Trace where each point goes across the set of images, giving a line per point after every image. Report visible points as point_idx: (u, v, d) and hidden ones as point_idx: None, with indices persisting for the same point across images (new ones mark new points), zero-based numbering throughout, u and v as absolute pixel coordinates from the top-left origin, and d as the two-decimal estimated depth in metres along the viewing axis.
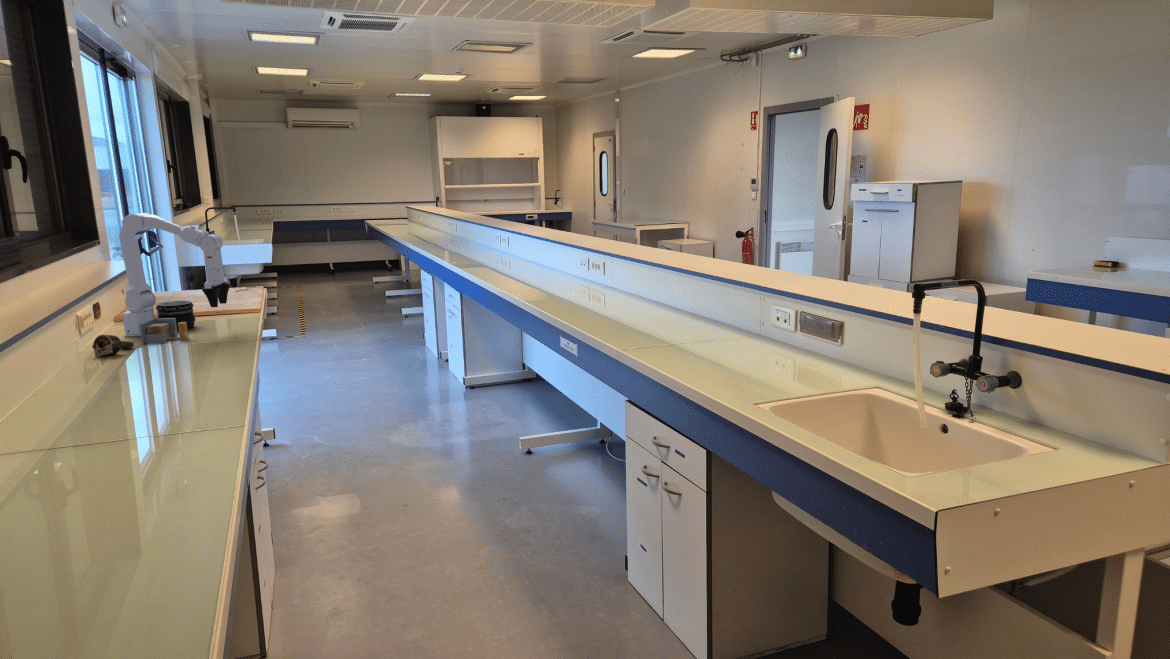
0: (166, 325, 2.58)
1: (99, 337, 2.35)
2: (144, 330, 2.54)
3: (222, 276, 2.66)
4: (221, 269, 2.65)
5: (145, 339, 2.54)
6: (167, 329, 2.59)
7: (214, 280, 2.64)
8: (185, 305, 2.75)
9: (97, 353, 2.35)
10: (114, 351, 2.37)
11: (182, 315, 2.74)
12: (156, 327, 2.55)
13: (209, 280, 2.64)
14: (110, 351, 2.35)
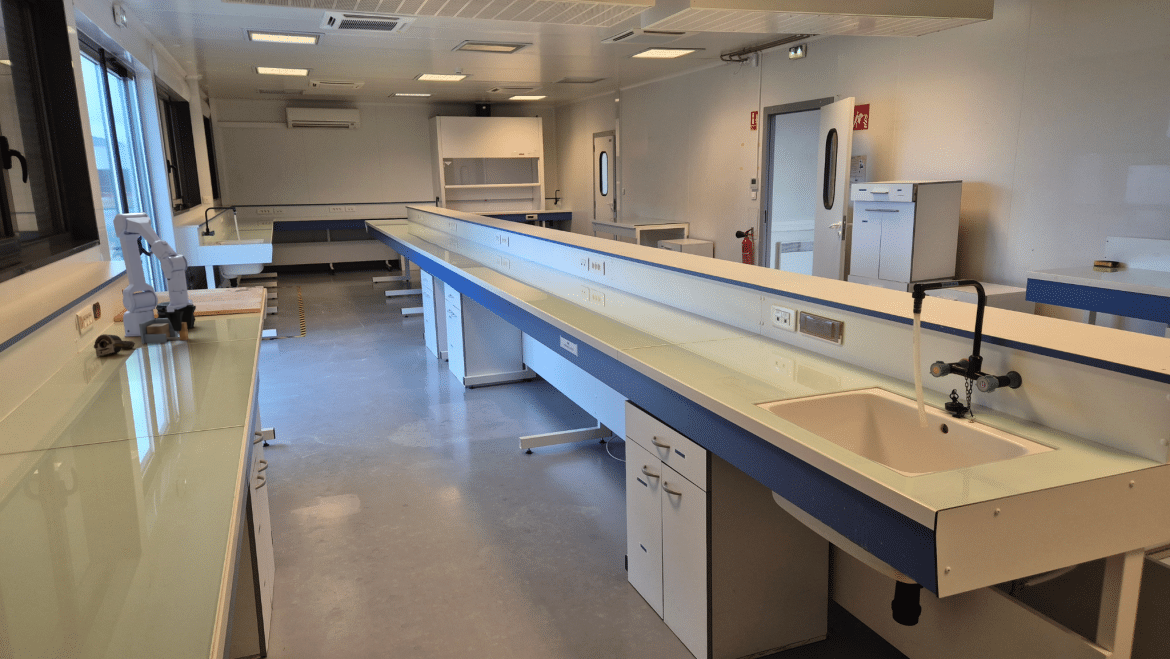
0: (166, 325, 2.58)
1: (100, 337, 2.35)
2: (144, 330, 2.54)
3: (186, 298, 2.55)
4: (185, 291, 2.55)
5: (145, 339, 2.54)
6: (167, 329, 2.59)
7: (177, 303, 2.53)
8: None
9: (98, 353, 2.35)
10: (115, 351, 2.37)
11: None
12: (156, 327, 2.55)
13: (172, 303, 2.53)
14: (112, 351, 2.35)
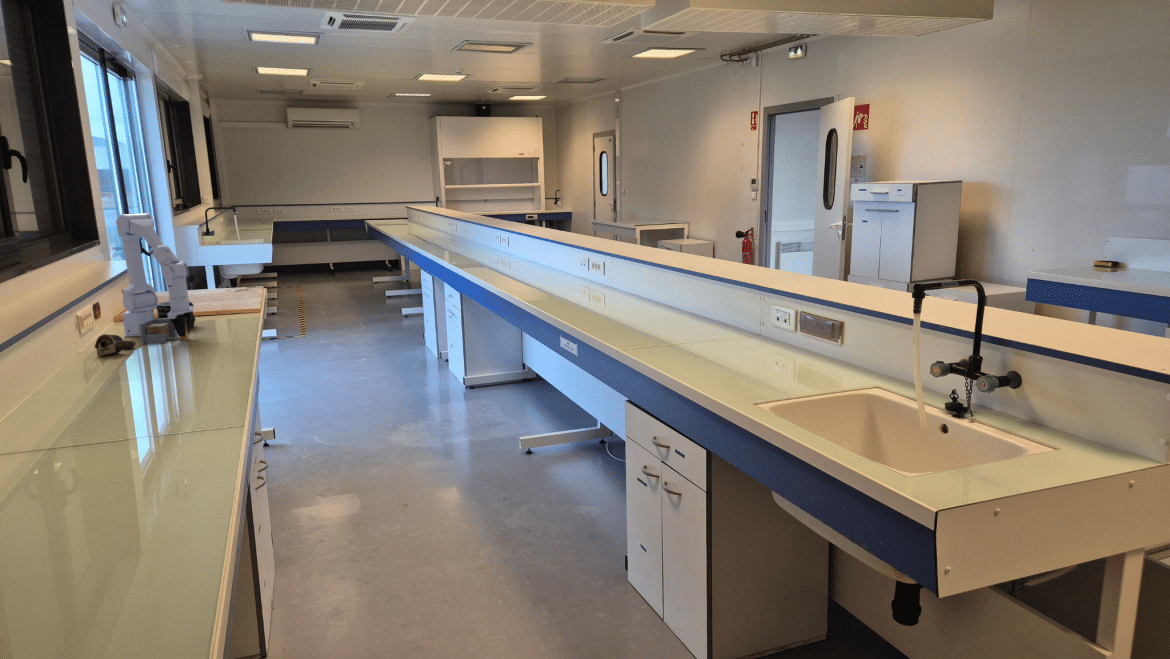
0: (166, 325, 2.58)
1: (101, 337, 2.36)
2: (144, 330, 2.54)
3: (187, 305, 2.56)
4: (186, 298, 2.55)
5: (145, 339, 2.54)
6: (167, 329, 2.59)
7: (178, 310, 2.54)
8: None
9: (99, 353, 2.36)
10: (116, 351, 2.38)
11: None
12: (156, 327, 2.55)
13: (173, 310, 2.54)
14: (113, 350, 2.35)
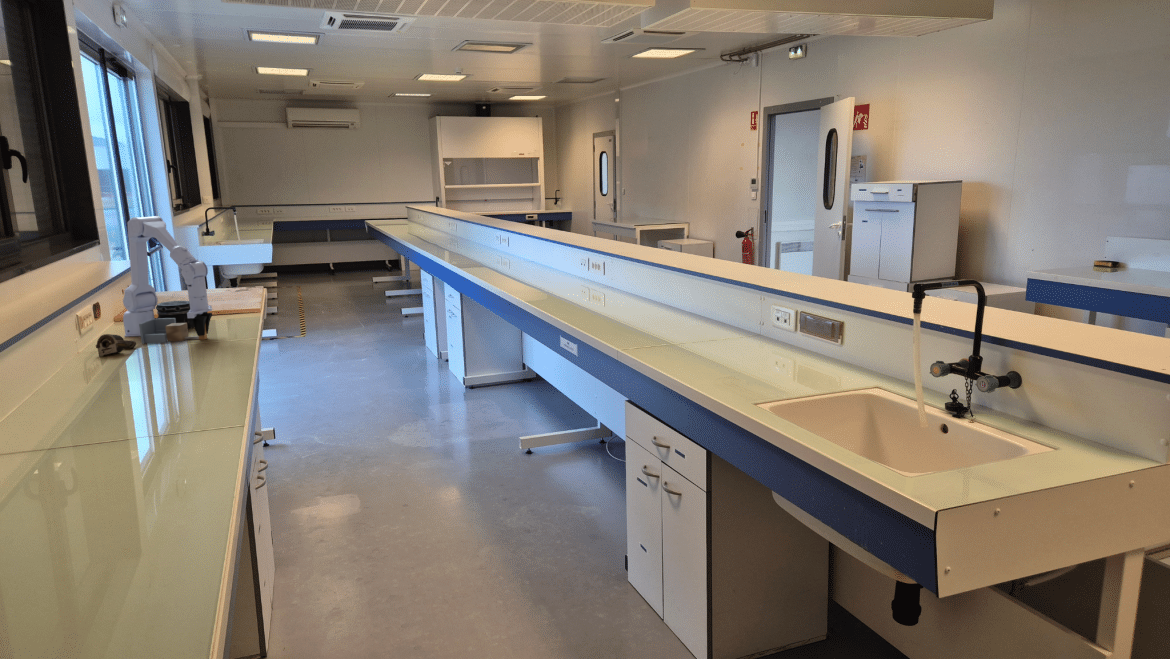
0: (185, 324, 2.59)
1: (103, 336, 2.36)
2: (144, 330, 2.54)
3: (206, 305, 2.56)
4: (205, 297, 2.55)
5: (145, 339, 2.54)
6: (186, 328, 2.59)
7: (198, 309, 2.54)
8: (185, 305, 2.75)
9: (101, 352, 2.36)
10: (117, 350, 2.38)
11: (182, 315, 2.74)
12: (175, 326, 2.55)
13: (192, 309, 2.54)
14: (114, 350, 2.35)
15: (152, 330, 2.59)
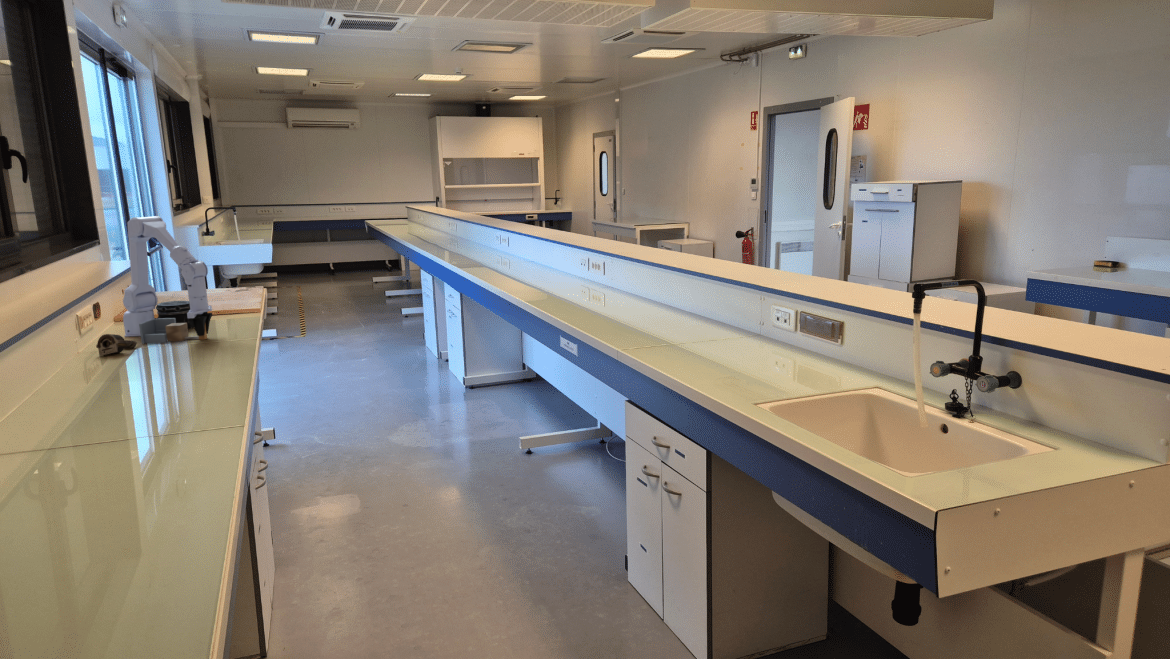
0: (185, 324, 2.59)
1: (103, 336, 2.36)
2: (144, 330, 2.54)
3: (206, 305, 2.56)
4: (205, 297, 2.55)
5: (145, 339, 2.54)
6: (186, 328, 2.59)
7: (198, 309, 2.54)
8: (185, 305, 2.75)
9: (101, 352, 2.36)
10: (118, 350, 2.38)
11: (182, 315, 2.74)
12: (175, 326, 2.55)
13: (192, 309, 2.54)
14: (115, 350, 2.36)
15: (152, 330, 2.59)
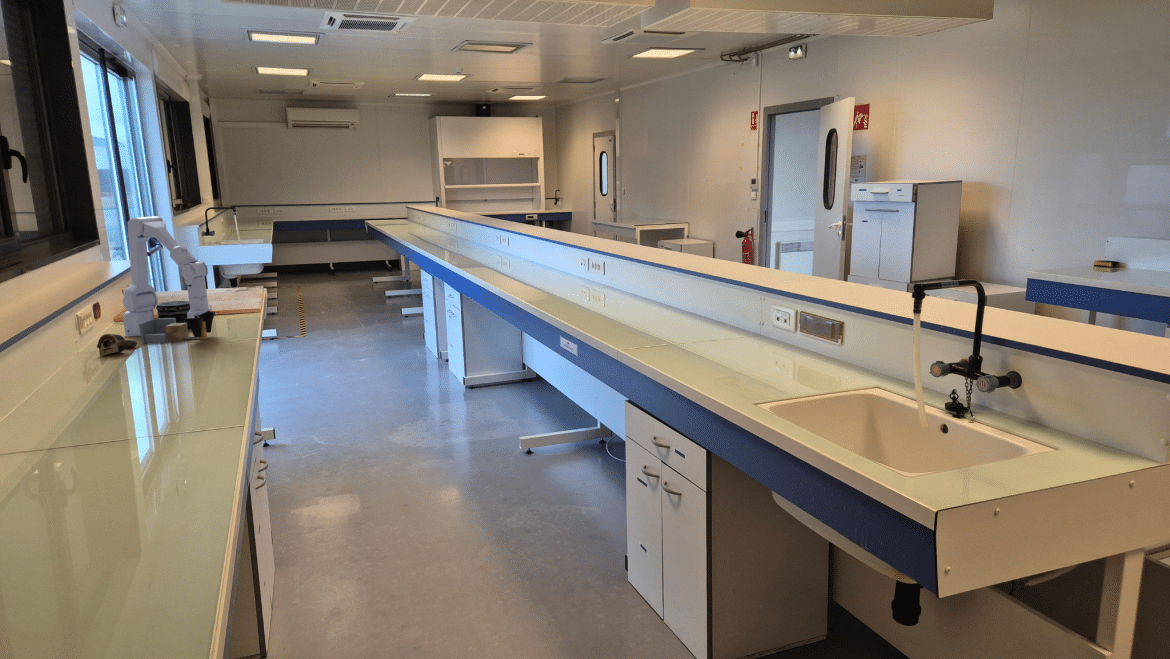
0: (185, 324, 2.59)
1: (104, 336, 2.36)
2: (144, 330, 2.54)
3: (206, 305, 2.56)
4: (205, 297, 2.55)
5: (145, 339, 2.54)
6: (186, 328, 2.59)
7: (197, 309, 2.54)
8: (185, 305, 2.75)
9: (102, 352, 2.36)
10: (119, 350, 2.38)
11: (182, 315, 2.74)
12: (175, 326, 2.55)
13: (192, 309, 2.54)
14: (116, 350, 2.36)
15: (152, 330, 2.59)
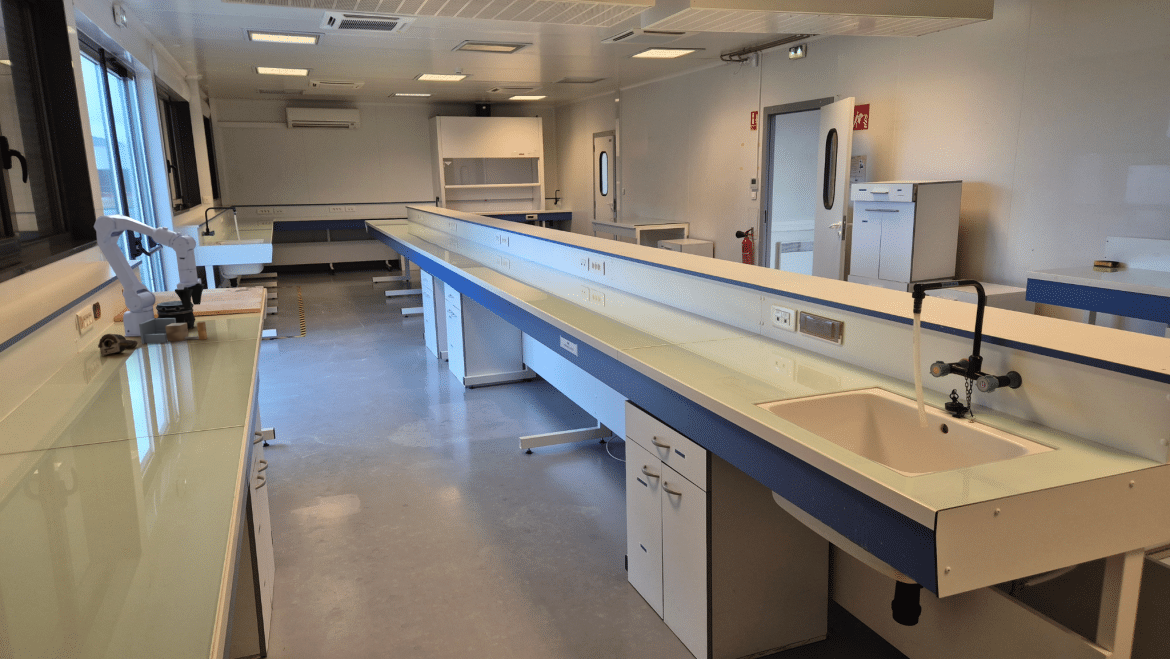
0: (185, 324, 2.59)
1: (105, 336, 2.36)
2: (144, 330, 2.54)
3: (195, 277, 2.66)
4: (194, 270, 2.65)
5: (145, 339, 2.54)
6: (186, 328, 2.59)
7: (187, 281, 2.64)
8: None
9: (103, 352, 2.36)
10: (120, 350, 2.38)
11: (182, 315, 2.74)
12: (175, 326, 2.55)
13: (182, 281, 2.64)
14: (117, 350, 2.36)
15: (152, 330, 2.59)
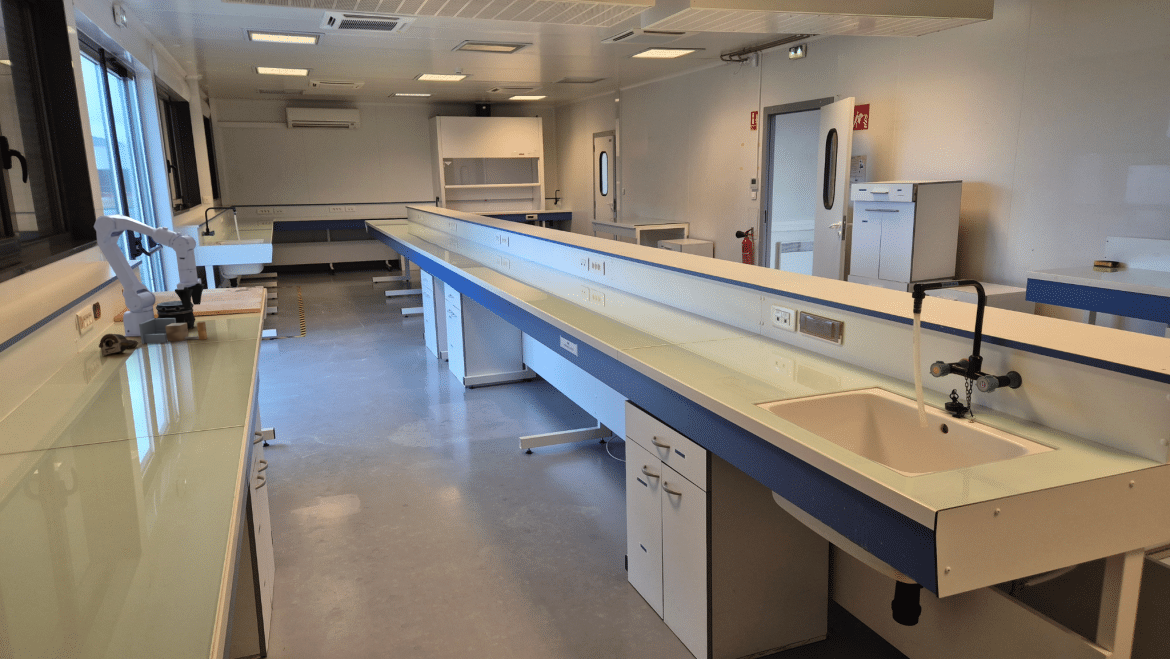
0: (185, 324, 2.59)
1: (106, 336, 2.36)
2: (144, 330, 2.54)
3: (195, 277, 2.66)
4: (194, 270, 2.65)
5: (145, 339, 2.54)
6: (186, 328, 2.59)
7: (187, 281, 2.64)
8: None
9: (104, 352, 2.36)
10: (121, 350, 2.39)
11: (182, 315, 2.74)
12: (175, 326, 2.55)
13: (182, 281, 2.64)
14: (118, 350, 2.36)
15: (152, 330, 2.59)
